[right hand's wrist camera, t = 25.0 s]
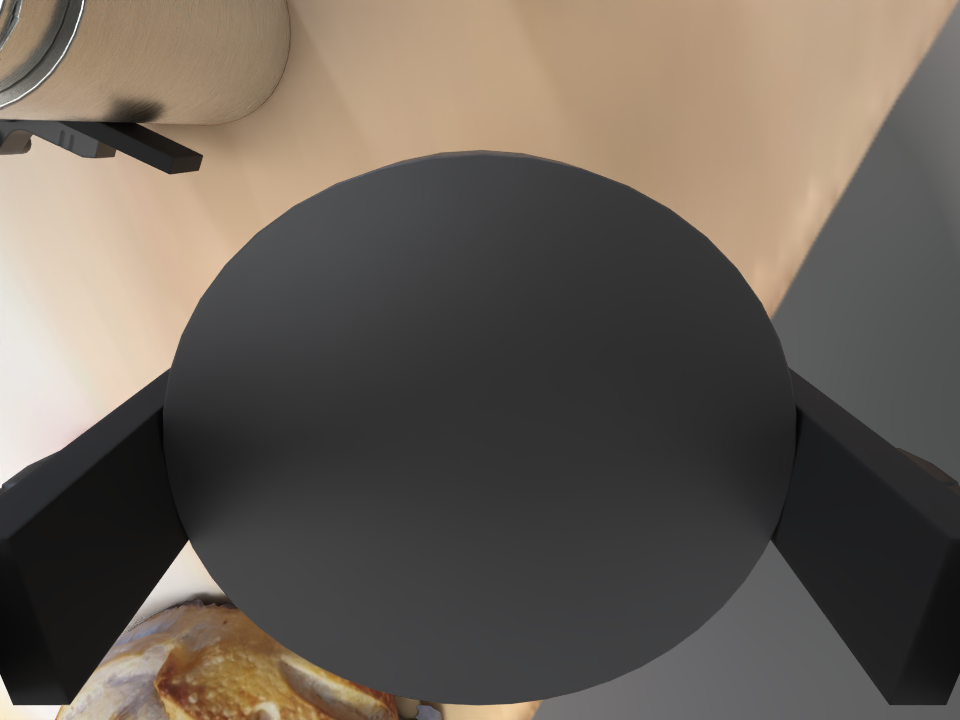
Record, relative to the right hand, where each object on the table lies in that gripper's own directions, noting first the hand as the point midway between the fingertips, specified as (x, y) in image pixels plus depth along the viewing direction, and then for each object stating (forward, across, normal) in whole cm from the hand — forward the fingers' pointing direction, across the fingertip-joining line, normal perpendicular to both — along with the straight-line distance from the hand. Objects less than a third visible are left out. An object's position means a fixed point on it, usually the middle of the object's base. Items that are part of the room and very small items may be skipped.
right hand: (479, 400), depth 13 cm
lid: (-3, 0, 0) cm, 3 cm away
